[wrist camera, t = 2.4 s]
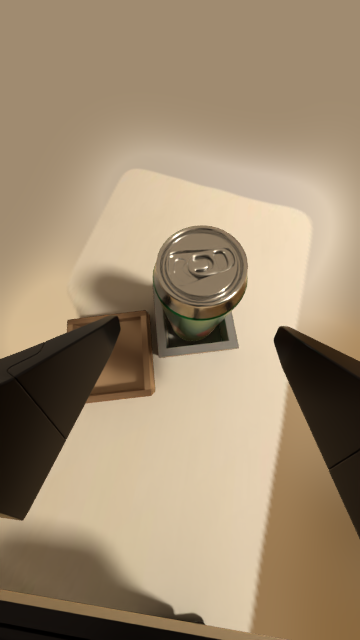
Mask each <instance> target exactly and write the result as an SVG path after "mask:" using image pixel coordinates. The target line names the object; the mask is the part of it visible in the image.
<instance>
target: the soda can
mask: <svg viewBox="0 0 360 640" xmlns="http://www.w3.org/2000/svg"><path fill="white" fill-rule="evenodd" d="M247 269H248V264H247V257H246V254H245V252H244V249H243V248H242V246H241V245H240V243H239V242H238V241H237V240H236V239H235V238H234V237H233V236H232V235H230V234H229V233H227V232H225V231H224V230H221V229H219V228H215V227H212V226H192V227H188V228H185V229H182V230H180V231H178V232H176V233H175V234H173V235H172V236H171V237H169V238H168V239H167V240H166V242H165V243H164V244H163V246H162V247H161V249H160V251H159V253H158V257H157V261H156V264H155V266H154V270H153V285H154V289H155V292H156V294H157V296H158V298H159V301H160V303H161V305H162V307H163V309H164V311H165V313H166V315H167V318H168V320H169V322H170V324H171V326H172V328H173V330H174V332H175V333H176V334H177V335H178V336H179V337H180V338H182V339H184V340H186V341H199V340H202V339H204V338H205V337H207V336H208V335H209V334H210V333H211V332H212V331H213V330H214V328H215V327H216V326H217V325H218V324H219V323H220V322H221V321H222V320H223V319H224V318H225V317H226V316H227V315H228V314H229V313H230V312H231V311H232V310H233V309H234V308H235V307H236V306H237V305H238V303H239V302H240V301H241V299H242V297H243V295H244V293H245V291H246V287H247V279H248V278H247Z"/></svg>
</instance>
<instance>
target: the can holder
mask: <svg viewBox="0 0 360 640" xmlns="http://www.w3.org/2000/svg"><path fill="white" fill-rule="evenodd" d="M153 294H154V307H155V319H156V331H157V343H158V356H159V358H165V357H173V356H181V355H190V354H198V353H207V352H215V351H223V350H231V349H237V348H239V346H238V341H237V336H236V331H235V326H234V321H233V316H232V311H231V312H230V313H229V314H228V315H227V316H226V317H225V318H224V319H223V320H222V321H221V322H220V323H219V328H220V333H221V339H222V342H215V343H207V344H199V345H190V346H182V347H174V348H169V341H168V331H167V321H166V313H165V311H164V309H163V307H162V305H161V303H160V301H159V298H158V296H157V294H156V292H155V289H154V285H153Z"/></svg>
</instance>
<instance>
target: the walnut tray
mask: <svg viewBox="0 0 360 640" xmlns="http://www.w3.org/2000/svg"><path fill="white" fill-rule="evenodd" d="M111 315H117V316H118V318H119V322H120V327H121V331H120V333H119V336H118V339H117V341H116V344H115V346H114V349H113V351H112V354H111V356H110V358H109V360H108V361H107V363H106V365H105V367H104V369H103V371H102V373H101V375H100V377H99V379H98V380H97V382H96V384H95V386H94V388H93V390H92V392H91V394H90V396H89V397H88V399H87V401H86V403H93V402H102V401H110V400H119V399H127V398H136V397H144V396H151V395H152V394H153V393H154V392H155V382H154V368H153V354H152V340H151V327H150V315H149V314H148V313H147V311H146V310H143V311H135V312H127V313H119V314H111ZM106 316H109V315H103V316H95V317H87V318H79V319H71V320H68V321H67V333H68V332H70V331H72V330H75V329H77V328H80V327H82V326H85V325H87V324H89V323H92V322H94V321H97V320H99V319H102V318H104V317H106Z"/></svg>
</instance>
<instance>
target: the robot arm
mask: <svg viewBox="0 0 360 640" xmlns="http://www.w3.org/2000/svg"><path fill="white" fill-rule="evenodd" d="M120 331H121V327H120V322H119V318H118V316H117V315H109V316H106V317H104V318H102V319H99V320H97V321H94V322H92V323H89V324H87V325H85V326H82V327H80V328H77V329H75V330H72V331H70V332H68V333H65V334H63V335H60V336H58V337H55V338H53V339H51V340H48V341H46V342H43V343H41V344H38V345H36V346H33V347H31V348H28V349H26V350H23V351H21V352H18V353H16V354H13V355H10V356H7V357H5V358H2V359H0V517H1V518H8V519H14V520H21V521H23V520H24V518H25V517H26V515H27V513H28V511H29V510H30V508H31V506H32V504H33V502H34V500H35V498H36V496H37V494H38V493H39V491H40V489H41V487H42V485H43V483H44V481H45V479H46V477H47V476H48V474H49V472H50V470H51V468H52V466H53V464H54V462H55V460H56V458H57V457H58V455H59V453H60V451H61V449H62V447H63V445H64V443H65V441H66V439H67V437H68V435H69V434H70V432H71V430H72V428H73V426H74V424H75V422H76V420H77V418H78V416H79V415H80V413H81V411H82V409H83V407H84V405H85V403H86V401H87V399H88V397H89V396H90V394H91V392H92V390H93V388H94V386H95V384H96V382H97V380H98V379H99V377H100V375H101V373H102V371H103V369H104V367H105V365H106V363H107V361H108V360H109V358H110V356H111V354H112V351H113V349H114V346H115V344H116V341H117V339H118V336H119V333H120ZM274 344H275V347H276V350H277V353H278V357H279V360H280V363H281V365H282V368H283V370H284V373H285V375H286V377H287V379H288V381H289V384H290V386H291V388H292V390H293V392H294V394H295V397H296V399H297V401H298V404H299V406H300V408H301V410H302V412H303V415H304V417H305V419H306V421H307V423H308V425H309V427H310V430H311V432H312V434H313V437H314V439H315V441H316V443H317V445H318V448H319V450H320V452H321V454H322V456H323V459H324V461H325V463H326V465H327V467H328V469H329V472H330V474H331V477H332V479H333V481H334V483H335V485H336V487H337V490H338V492H339V494H340V497H341V499H342V501H343V503H344V505H345V508H346V510H347V512H348V514H349V516H350V518H351V520H352V523H353V525H354V527H355V530H356V532H357V534H358V536H359V539H360V361H358V360H356V359H354V358H352V357H349V356H347V355H345V354H343V353H341V352H339V351H337V350H335V349H333V348H331V347H329V346H327V345H325V344H323V343H321V342H319V341H317V340H315V339H313V338H311V337H309V336H307V335H304V334H302V333H300V332H299V331H296V330H294V329H292V328H290V327H287V326H280V327H279V328H278V330H277V333H276V335H275V337H274ZM0 640H287V639H282V638H276V637H270V636H264V635H259V634H253V633H247V632H242V631H236V630H230V629H225V628H219V627H213V626H207V625H205V624H204V623H203V622H192V623H190V622H185V621H179V620H173V619H167V618H162V617H156V616H150V615H145V614H139V613H133V612H127V611H122V610H116V609H110V608H105V607H99V606H93V605H87V604H82V603H76V602H70V601H65V600H59V599H53V598H47V597H42V596H36V595H30V594H25V593H19V592H13V591H7V590H2V589H0Z"/></svg>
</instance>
